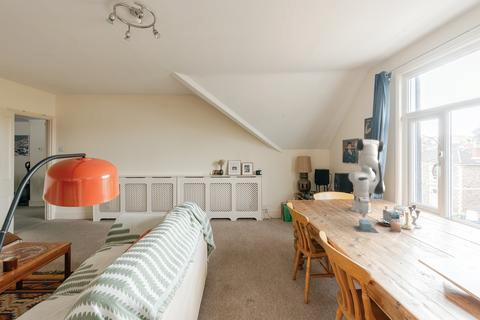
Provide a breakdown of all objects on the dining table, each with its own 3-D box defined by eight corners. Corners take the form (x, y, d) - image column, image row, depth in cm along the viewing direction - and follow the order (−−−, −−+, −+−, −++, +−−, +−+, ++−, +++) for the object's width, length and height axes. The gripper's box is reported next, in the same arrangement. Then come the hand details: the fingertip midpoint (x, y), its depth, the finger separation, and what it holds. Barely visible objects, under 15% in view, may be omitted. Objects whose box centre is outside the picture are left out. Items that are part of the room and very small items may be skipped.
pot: (389, 228, 161) (389, 221, 160) (398, 229, 159) (398, 221, 158) (392, 231, 155) (392, 223, 155) (402, 232, 153) (402, 224, 153)
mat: (353, 225, 167) (353, 225, 167) (374, 227, 163) (374, 227, 163) (356, 231, 157) (356, 230, 157) (378, 233, 153) (378, 232, 153)
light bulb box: (400, 226, 166) (400, 212, 165) (391, 226, 166) (391, 212, 166) (390, 221, 177) (390, 208, 176) (382, 221, 177) (382, 208, 176)
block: (359, 219, 167) (362, 223, 158) (367, 220, 165) (371, 224, 156) (359, 225, 167) (361, 230, 158) (367, 226, 165) (371, 231, 156)
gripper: (355, 195, 181) (355, 211, 181) (360, 200, 161) (360, 218, 162) (363, 195, 179) (363, 212, 179) (370, 201, 159) (370, 219, 160)
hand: (362, 215), depth 170 cm, fingers open, 8 cm apart
